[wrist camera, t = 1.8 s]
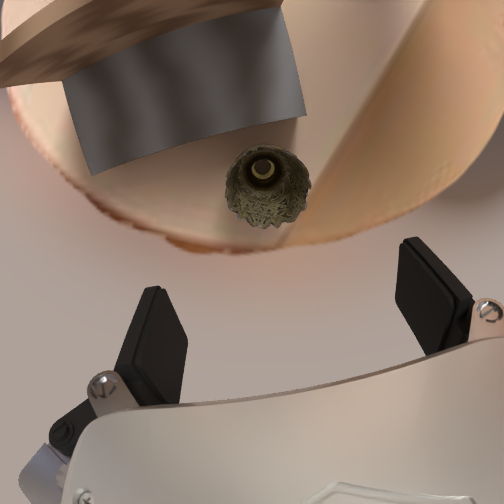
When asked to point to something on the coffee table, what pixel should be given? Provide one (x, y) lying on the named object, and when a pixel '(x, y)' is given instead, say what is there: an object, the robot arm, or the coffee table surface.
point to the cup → (267, 187)
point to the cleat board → (157, 70)
